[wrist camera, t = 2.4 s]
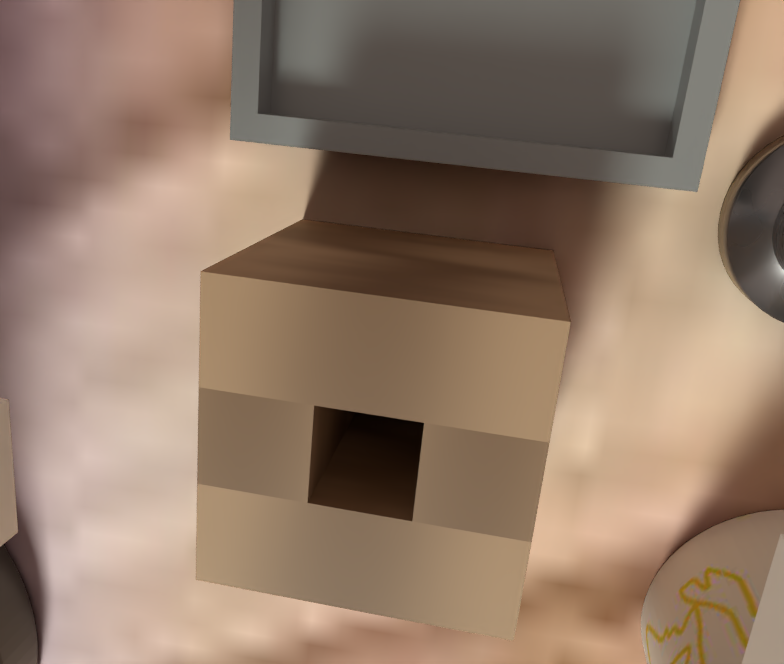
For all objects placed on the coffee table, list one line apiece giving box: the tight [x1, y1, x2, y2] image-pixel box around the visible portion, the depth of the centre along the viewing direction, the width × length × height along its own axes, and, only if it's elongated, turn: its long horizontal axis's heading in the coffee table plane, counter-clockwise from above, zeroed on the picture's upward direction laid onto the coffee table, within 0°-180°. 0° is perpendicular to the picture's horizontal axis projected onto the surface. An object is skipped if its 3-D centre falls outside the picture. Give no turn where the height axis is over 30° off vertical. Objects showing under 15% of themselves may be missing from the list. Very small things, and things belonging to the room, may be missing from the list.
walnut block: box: [196, 219, 571, 641], centre depth 18 cm, size 7×7×7 cm
